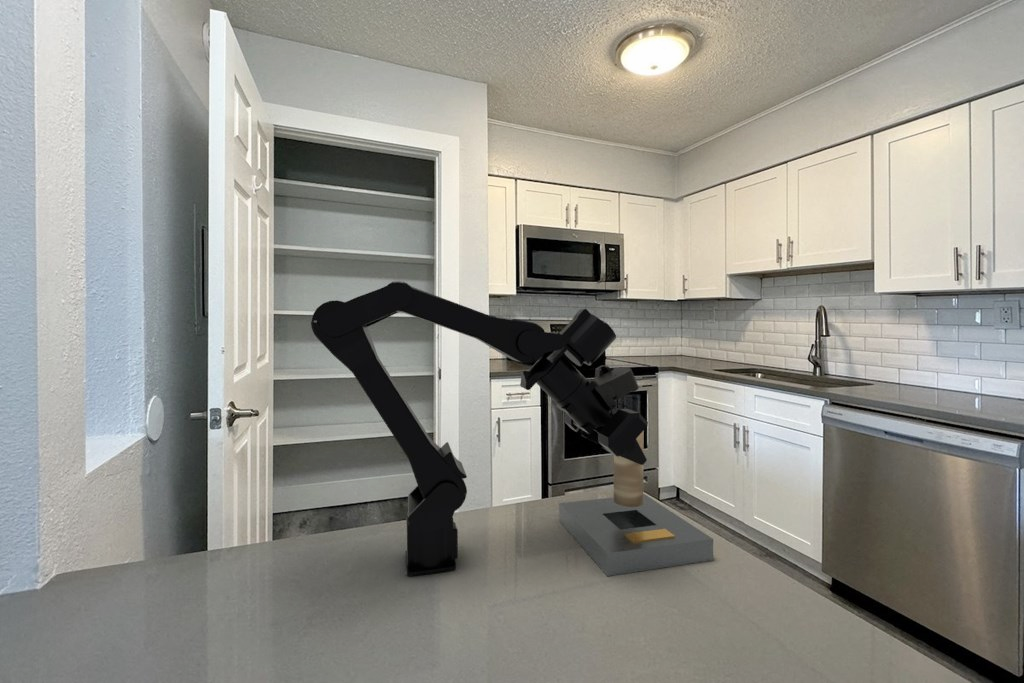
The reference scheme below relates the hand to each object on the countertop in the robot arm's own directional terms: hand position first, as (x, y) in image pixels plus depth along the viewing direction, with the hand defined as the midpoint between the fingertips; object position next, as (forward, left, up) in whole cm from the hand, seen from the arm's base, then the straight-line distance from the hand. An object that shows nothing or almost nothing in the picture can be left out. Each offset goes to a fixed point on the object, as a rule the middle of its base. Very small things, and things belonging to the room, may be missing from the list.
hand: (636, 458), depth 70 cm
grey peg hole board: (-1, 0, -12) cm, 12 cm away
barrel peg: (-1, 0, -7) cm, 7 cm away
